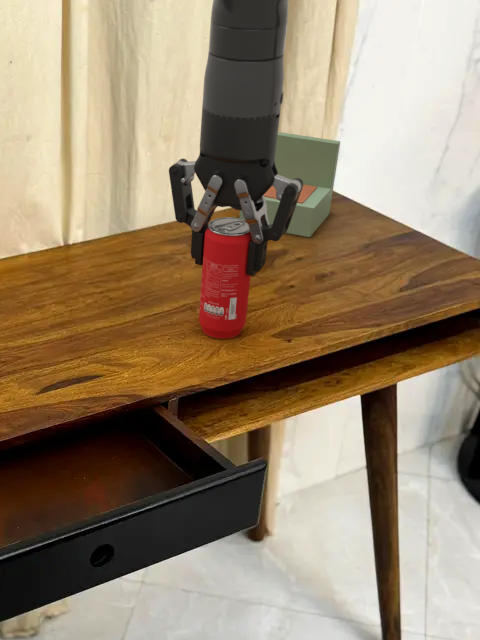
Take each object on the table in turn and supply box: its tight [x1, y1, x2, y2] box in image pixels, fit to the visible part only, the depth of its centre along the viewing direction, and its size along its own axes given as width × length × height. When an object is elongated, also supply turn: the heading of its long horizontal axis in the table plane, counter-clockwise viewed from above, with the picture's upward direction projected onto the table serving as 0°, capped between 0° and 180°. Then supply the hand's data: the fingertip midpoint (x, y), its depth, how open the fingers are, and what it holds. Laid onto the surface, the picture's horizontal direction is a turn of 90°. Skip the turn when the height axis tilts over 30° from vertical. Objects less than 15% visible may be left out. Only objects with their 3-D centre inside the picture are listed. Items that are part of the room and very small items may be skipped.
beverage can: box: [198, 216, 252, 340], centre depth 106 cm, size 5×5×12 cm
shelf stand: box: [238, 131, 341, 238], centre depth 132 cm, size 10×9×10 cm
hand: (227, 267), depth 105 cm, fingers closed on beverage can, 5 cm apart
